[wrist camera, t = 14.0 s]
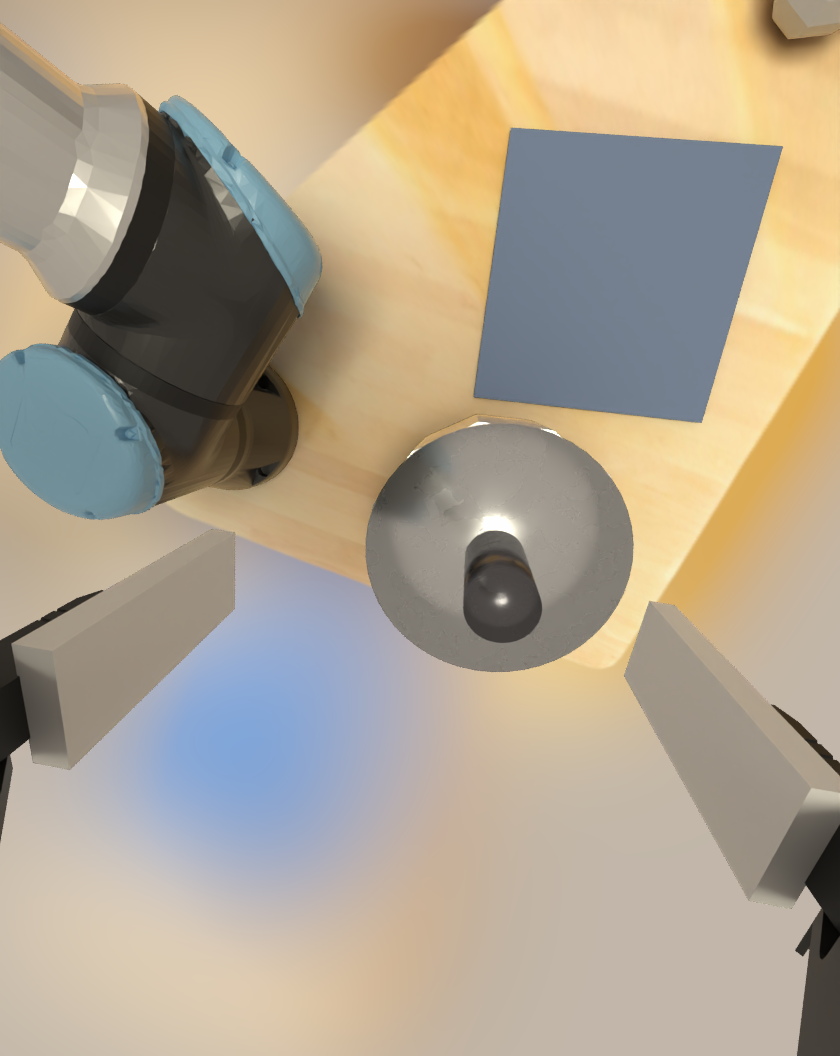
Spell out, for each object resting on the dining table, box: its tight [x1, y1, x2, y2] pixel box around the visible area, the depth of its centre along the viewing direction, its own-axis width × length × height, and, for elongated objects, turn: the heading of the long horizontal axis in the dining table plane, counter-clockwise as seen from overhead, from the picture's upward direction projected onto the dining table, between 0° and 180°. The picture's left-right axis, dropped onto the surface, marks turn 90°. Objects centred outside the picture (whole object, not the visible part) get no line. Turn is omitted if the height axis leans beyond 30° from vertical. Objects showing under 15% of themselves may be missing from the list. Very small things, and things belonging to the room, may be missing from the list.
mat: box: [474, 128, 783, 423], centre depth 42 cm, size 23×23×1 cm
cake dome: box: [366, 414, 633, 672], centre depth 39 cm, size 22×22×23 cm
